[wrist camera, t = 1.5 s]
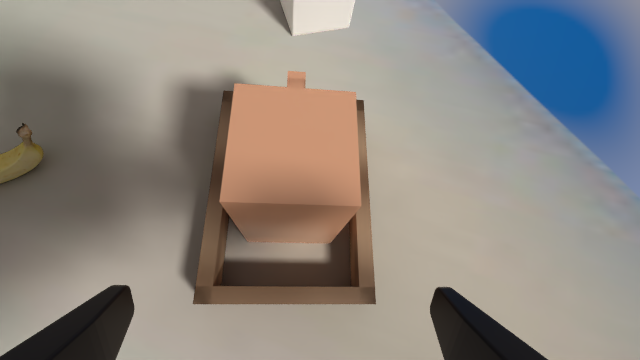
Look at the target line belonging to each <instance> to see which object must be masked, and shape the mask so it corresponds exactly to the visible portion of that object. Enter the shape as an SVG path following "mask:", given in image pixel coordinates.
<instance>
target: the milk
mask: <svg viewBox="0 0 640 360" xmlns="http://www.w3.org/2000/svg"><path fill="white" fill-rule="evenodd" d="M280 2H281V5H282V8H283V11H284V14H285V17H286V19H287V22H288V25H289V28H290V31H291V34H292V36H296V35H303V34H310V33H317V32H324V31H331V30H337V29H344V28H349V25H350V21H351V16H352V12H353V8H354V4H355V0H280Z"/></svg>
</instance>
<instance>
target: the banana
mask: <svg viewBox="0 0 640 360" xmlns="http://www.w3.org/2000/svg"><path fill="white" fill-rule="evenodd" d="M22 125H23V126H21V127H19V128H18V129H17V131H16V132H17V133H18V135H19V136H20V137H22V139H23V142H22V143H21V144H20V145H18V146H17V147H15V148H14V149H12V150H10V151H8V152H5V153H3V154H0V184H1V183H4V182H6V181H9V180H12V179H15V178H17V177H19V176H21V175H23V174H25V173H27V172H29V171H30V170H32V169H33V168H35V167H36V166H37V165H38V164H39V163H40V161H41V160H42V158H43V150H42V148H41V147H40V146H39V145H37V144H35V143H33V142H32V139H31V135H32V131H31V130H30V129H29V128H28V126H27V125H26V124H24V123H22Z"/></svg>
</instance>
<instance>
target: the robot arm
mask: <svg viewBox="0 0 640 360" xmlns="http://www.w3.org/2000/svg"><path fill="white" fill-rule="evenodd" d="M133 314H134V303H133V299H132V294H131V290H130V287H129V286H127V285H112V286H110V287H108V288H107V289H105V290H104V291H102V292H100V293H99V294H97V295H96V296H94V297H93V298H91V299H89V300H88V301H86V302H85V303H83V304H82V305H80V306H79V307H77V308H75V309H74V310H72V311H71V312H69V313H68V314H66V315H64V316H63V317H61V318H60V319H58V320H57V321H55V322H54V323H52V324H50V325H49V326H47V327H46V328H44V329H43V330H41V331H39V332H38V333H36V334H35V335H33V336H32V337H30V338H29V339H27V340H25V341H24V342H22V343H21V344H19V345H18V346H16V347H14V348H13V349H11V350H10V351H8V352H7V353H5V354H4V355H2V356H0V360H116V357H117V355H118V352H119V350H120V347H121V345H122V342H123V340H124V337H125V335H126V332H127V330H128V327H129V325H130V322H131V320H132V317H133ZM430 314H431V318H432V321H433V324H434V327H435V331H436V334H437V337H438V341H439V344H440V347H441V351H442V354H443V357H444V360H548V359H546V358H545V357H544V356H542V355H541V354H540V353H538V352H537V351H536V350H534V349H533V348H532V347H530V346H529V345H527V344H526V343H525V342H523V341H522V340H521V339H519V338H518V337H517V336H515V335H514V334H513V333H511V332H510V331H509V330H507V329H506V328H505V327H503V326H502V325H501V324H499V323H498V322H497V321H495V320H494V319H492V318H491V317H490V316H488V315H487V314H486V313H484V312H483V311H482V310H480V309H479V308H478V307H476V306H475V305H474V304H472V303H471V302H470V301H468V300H467V299H466V298H464V297H463V296H461V295H460V294H459V293H457V292H456V291H455V290H453V289H452V288H450V287H438V288H436V290H435V292H434V296H433V299H432V302H431V305H430Z"/></svg>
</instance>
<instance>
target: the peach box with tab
mask: <svg viewBox="0 0 640 360" xmlns="http://www.w3.org/2000/svg"><path fill="white" fill-rule="evenodd" d="M305 74H306V72H294V71H288V80H287V87H277V86H263V85H249V84H235V85H234V92H233V100H232V108H231V116H230V123H229V131H228V139H227V147H226V154H225V162H224V170H223V178H222V185H221V193H220V201H219V202H220V203H221V205H222V206H223V208H224V209H225V210H226V212H227V213H228V215H229V216H230V218H231V219H232V220H233V222H234V223H235V225H236V226H237V227H238V229H239V230H240V232H241V233H242V235H243V236H244V237H245V239H246V240H247V242H279V243H329V244H330V243H331V242H332V240H333V239H334V238H335V237H336V236H337V235H338V233H339V232H340V231H341V230H342V229H343V227H344V226H345V225H346V224H347V223H348V222H349V220H350V219H351V218H352V217H353V216H354V215H355V213H356V212H357V211H358V210H359V209H360V208H361V186H360V166H359V146H358V126H357V106H356V92H347V91H333V90H319V89H305Z"/></svg>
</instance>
